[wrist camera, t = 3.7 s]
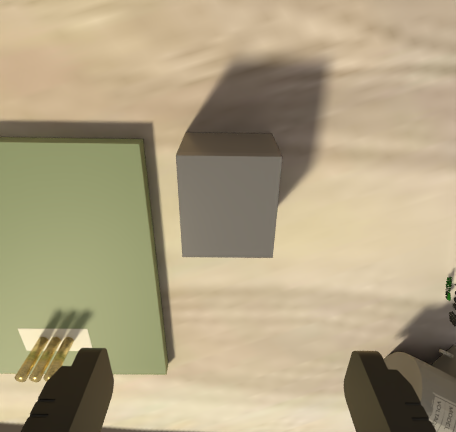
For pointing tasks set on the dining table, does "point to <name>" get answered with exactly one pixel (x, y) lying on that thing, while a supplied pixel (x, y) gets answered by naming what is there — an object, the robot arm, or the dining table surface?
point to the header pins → (44, 359)
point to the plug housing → (228, 194)
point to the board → (79, 252)
